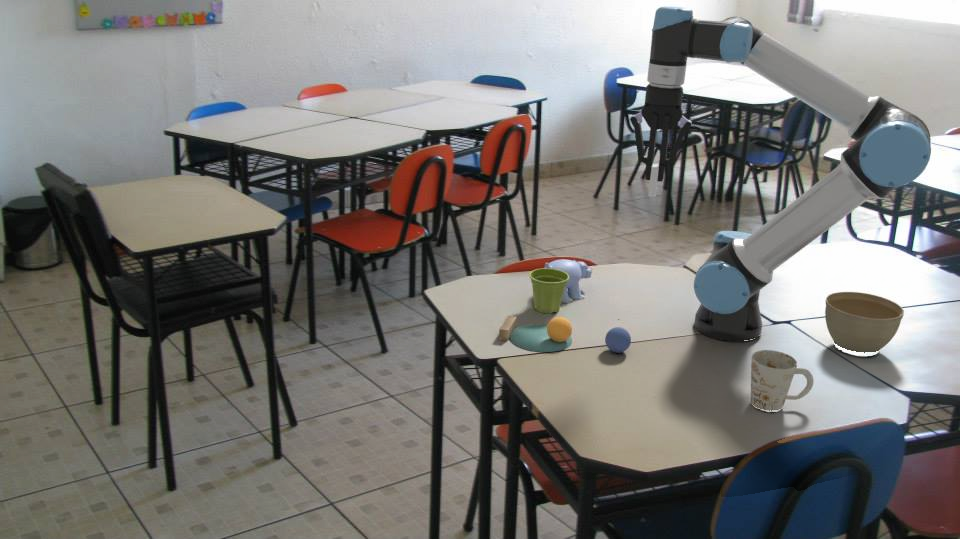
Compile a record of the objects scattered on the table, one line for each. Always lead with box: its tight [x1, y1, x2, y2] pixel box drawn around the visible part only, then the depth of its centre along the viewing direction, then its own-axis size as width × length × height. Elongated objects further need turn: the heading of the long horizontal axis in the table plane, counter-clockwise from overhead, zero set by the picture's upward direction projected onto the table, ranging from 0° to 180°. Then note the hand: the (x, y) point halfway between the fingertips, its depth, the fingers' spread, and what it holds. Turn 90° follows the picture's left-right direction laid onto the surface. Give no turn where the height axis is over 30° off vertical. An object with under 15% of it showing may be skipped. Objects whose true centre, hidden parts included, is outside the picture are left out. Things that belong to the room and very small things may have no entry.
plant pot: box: [528, 267, 569, 314], centre depth 216 cm, size 9×9×9 cm
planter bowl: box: [824, 291, 905, 353], centre depth 202 cm, size 16×16×11 cm
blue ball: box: [604, 326, 632, 354], centre depth 196 cm, size 6×6×6 cm
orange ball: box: [547, 316, 573, 342], centre depth 200 cm, size 6×6×6 cm
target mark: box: [509, 324, 573, 353], centre depth 202 cm, size 14×14×1 cm
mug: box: [750, 349, 814, 411], centre depth 176 cm, size 8×13×10 cm, turn 95°
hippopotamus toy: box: [544, 258, 593, 304], centre depth 227 cm, size 11×15×10 cm
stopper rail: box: [498, 315, 517, 342], centre depth 203 cm, size 2×8×2 cm, turn 165°
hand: (652, 195), depth 196 cm, fingers closed
